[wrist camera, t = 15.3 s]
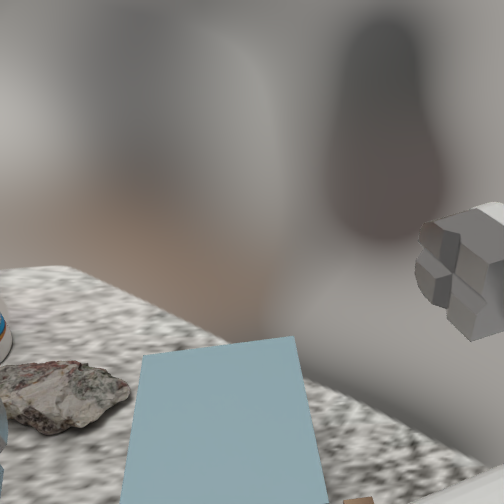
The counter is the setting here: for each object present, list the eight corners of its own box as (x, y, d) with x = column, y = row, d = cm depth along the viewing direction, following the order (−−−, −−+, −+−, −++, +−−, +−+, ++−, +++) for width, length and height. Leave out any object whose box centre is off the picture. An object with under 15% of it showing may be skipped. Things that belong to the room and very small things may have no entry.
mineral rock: (140, 386, 48) (129, 357, 45) (96, 456, 42) (80, 427, 39) (27, 360, 53) (11, 333, 50) (-27, 420, 47) (-48, 392, 44)
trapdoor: (97, 676, 22) (73, 651, 20) (143, 375, 38) (132, 343, 36) (364, 641, 22) (366, 612, 20) (301, 354, 38) (299, 321, 36)
